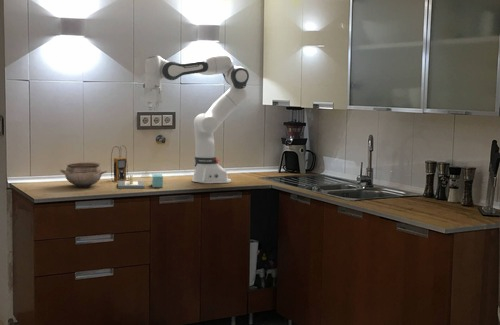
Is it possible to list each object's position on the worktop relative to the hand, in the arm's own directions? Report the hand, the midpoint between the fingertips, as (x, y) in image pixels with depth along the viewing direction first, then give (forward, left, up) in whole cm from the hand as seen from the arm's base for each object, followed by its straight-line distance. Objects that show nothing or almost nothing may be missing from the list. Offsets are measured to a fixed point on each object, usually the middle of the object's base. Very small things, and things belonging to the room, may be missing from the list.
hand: (153, 110), depth 379 cm
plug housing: (-2, +14, -41) cm, 43 cm away
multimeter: (+16, -4, -41) cm, 44 cm away
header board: (+12, +14, -41) cm, 45 cm away
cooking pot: (+37, +16, -41) cm, 57 cm away
